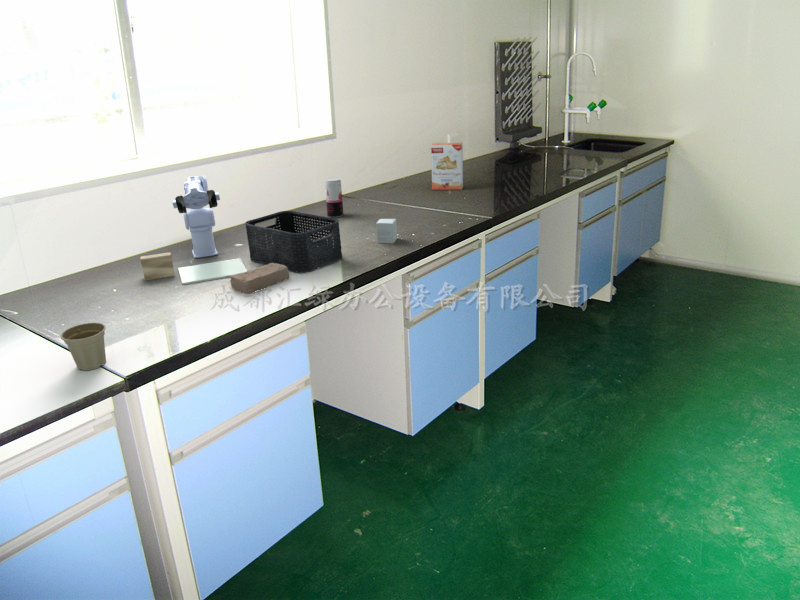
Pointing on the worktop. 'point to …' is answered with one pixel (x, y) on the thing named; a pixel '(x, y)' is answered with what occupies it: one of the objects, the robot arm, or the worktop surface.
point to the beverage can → (334, 197)
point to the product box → (386, 231)
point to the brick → (259, 278)
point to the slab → (157, 266)
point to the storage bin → (295, 241)
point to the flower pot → (86, 345)
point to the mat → (211, 271)
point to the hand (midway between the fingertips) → (197, 207)
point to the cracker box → (447, 166)
